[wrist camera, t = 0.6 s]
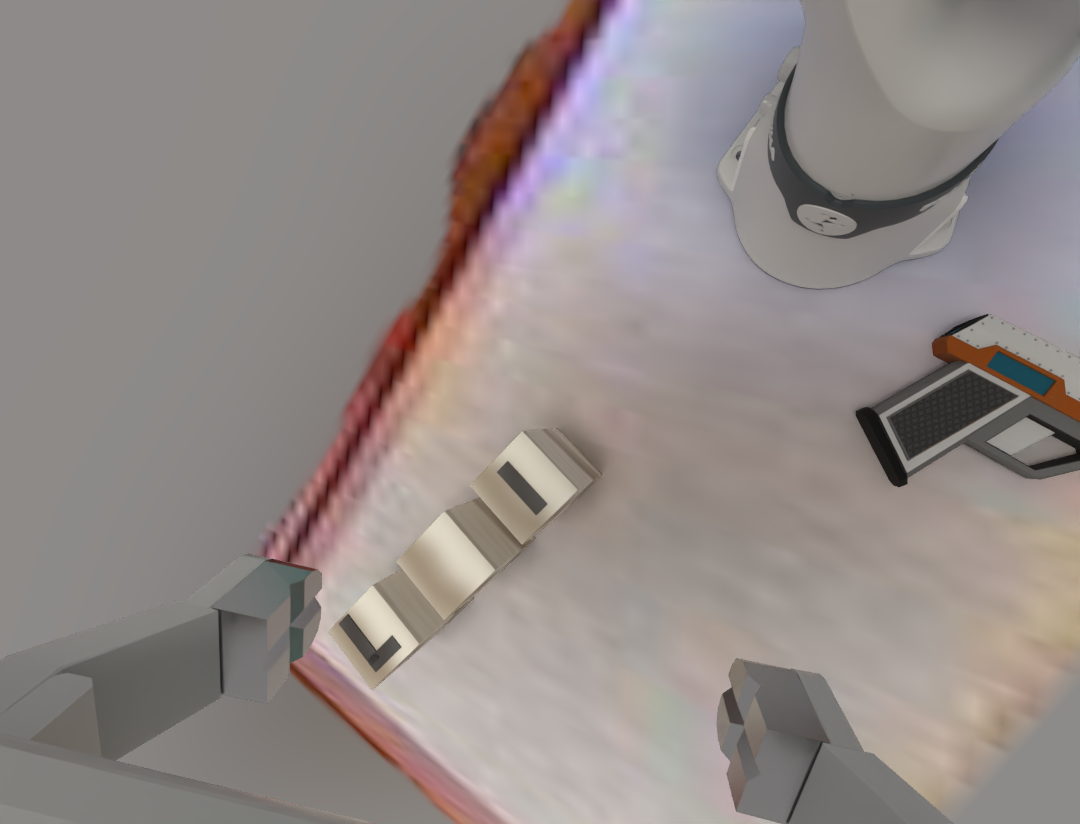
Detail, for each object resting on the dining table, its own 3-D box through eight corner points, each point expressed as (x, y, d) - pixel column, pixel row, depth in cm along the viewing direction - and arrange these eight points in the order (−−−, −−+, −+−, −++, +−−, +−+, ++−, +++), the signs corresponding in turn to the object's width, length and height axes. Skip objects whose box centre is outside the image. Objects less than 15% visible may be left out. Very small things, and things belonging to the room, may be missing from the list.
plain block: (494, 492, 51) (444, 511, 40) (535, 538, 50) (495, 570, 39) (455, 532, 52) (396, 561, 42) (494, 578, 51) (444, 620, 40)
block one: (556, 427, 49) (520, 429, 39) (601, 474, 48) (577, 490, 37) (514, 470, 50) (467, 484, 40) (557, 517, 49) (521, 545, 39)
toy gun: (826, 446, 43) (941, 289, 41) (1201, 671, 37) (1363, 500, 35) (836, 448, 41) (960, 281, 38) (1244, 693, 34) (1423, 509, 32)
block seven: (434, 550, 53) (370, 584, 42) (474, 597, 51) (418, 644, 41) (397, 588, 54) (325, 631, 43) (435, 635, 53) (370, 691, 42)
